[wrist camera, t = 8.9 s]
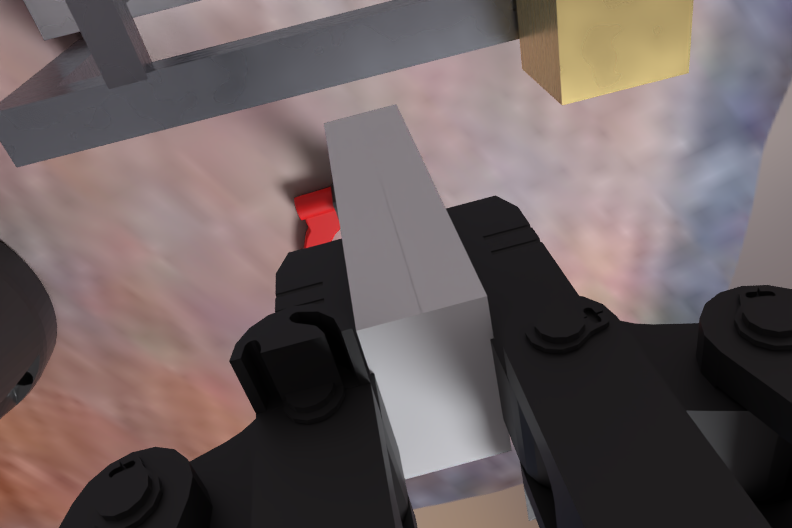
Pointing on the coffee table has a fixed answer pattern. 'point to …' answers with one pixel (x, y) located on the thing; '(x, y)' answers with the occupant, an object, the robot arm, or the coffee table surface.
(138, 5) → the flange plate
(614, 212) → the coffee table surface
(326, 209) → the tow hook
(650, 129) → the coffee table surface
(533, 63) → the slider block
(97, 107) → the dividers beam
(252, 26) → the coffee table surface
